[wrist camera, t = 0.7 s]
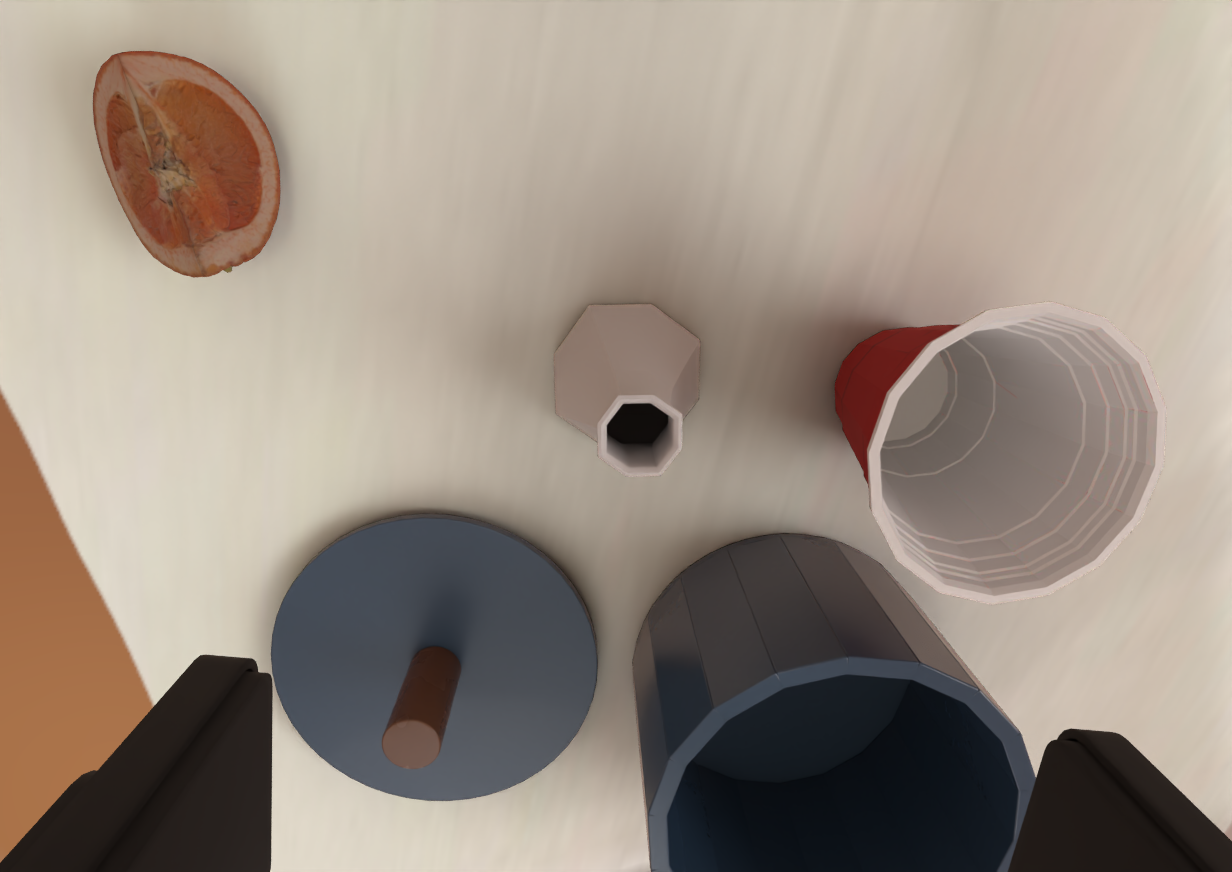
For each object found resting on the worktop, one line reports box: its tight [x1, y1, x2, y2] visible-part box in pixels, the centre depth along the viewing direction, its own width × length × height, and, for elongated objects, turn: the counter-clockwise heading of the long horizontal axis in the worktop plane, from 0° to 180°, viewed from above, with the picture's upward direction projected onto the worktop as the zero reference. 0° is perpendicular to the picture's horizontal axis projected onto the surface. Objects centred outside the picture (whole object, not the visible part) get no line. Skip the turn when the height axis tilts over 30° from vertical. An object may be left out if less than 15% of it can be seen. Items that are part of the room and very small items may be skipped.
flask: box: [554, 304, 700, 477], centre depth 33 cm, size 7×7×10 cm
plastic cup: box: [835, 301, 1167, 605], centre depth 33 cm, size 11×11×12 cm
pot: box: [632, 534, 1036, 872], centre depth 37 cm, size 16×16×12 cm
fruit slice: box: [93, 51, 280, 277], centre depth 32 cm, size 8×7×5 cm
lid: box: [271, 514, 598, 801], centre depth 39 cm, size 17×17×7 cm
